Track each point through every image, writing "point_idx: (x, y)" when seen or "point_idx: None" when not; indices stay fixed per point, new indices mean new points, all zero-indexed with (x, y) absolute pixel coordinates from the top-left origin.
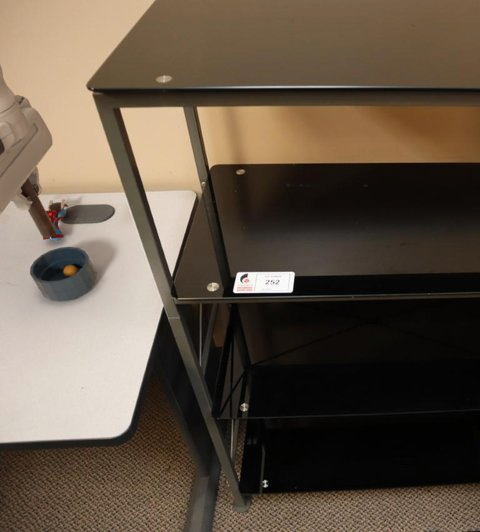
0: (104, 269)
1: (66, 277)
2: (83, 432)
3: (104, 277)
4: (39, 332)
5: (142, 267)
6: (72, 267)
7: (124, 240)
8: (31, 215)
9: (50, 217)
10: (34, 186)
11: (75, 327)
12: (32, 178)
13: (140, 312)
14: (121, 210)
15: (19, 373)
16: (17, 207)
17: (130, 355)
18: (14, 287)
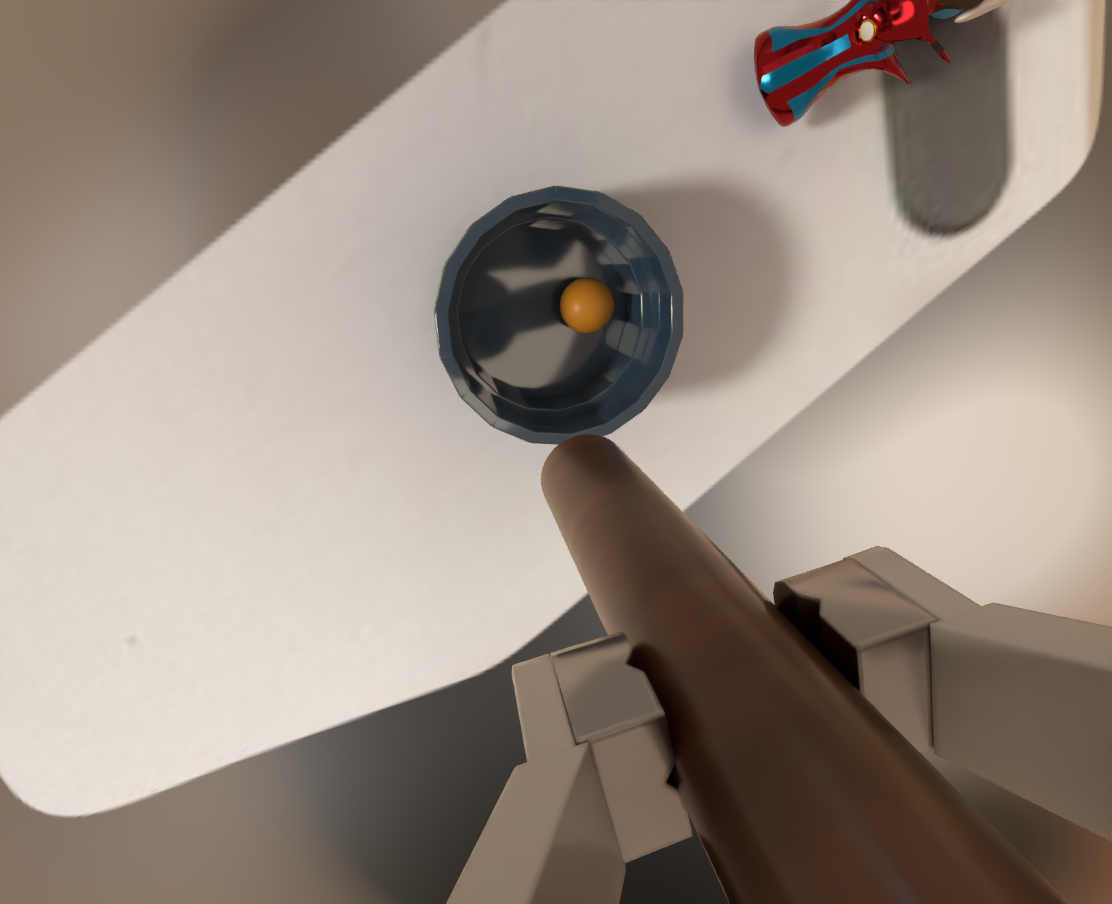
0: None
1: (565, 284)
2: None
3: None
4: (283, 354)
5: None
6: (596, 322)
7: (804, 368)
8: (587, 558)
9: (880, 36)
10: None
11: (350, 464)
12: (1040, 764)
13: (478, 620)
14: (975, 252)
15: (86, 411)
16: (515, 684)
17: (303, 691)
18: (467, 80)
